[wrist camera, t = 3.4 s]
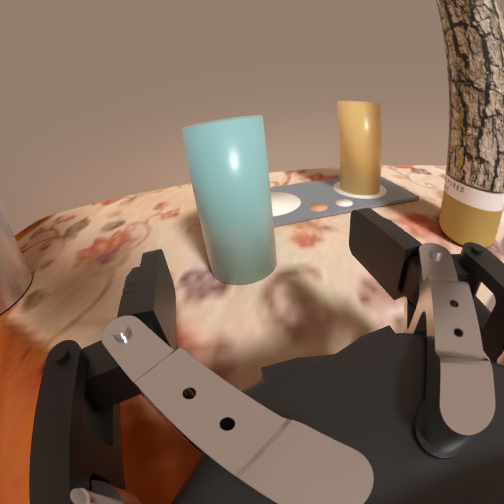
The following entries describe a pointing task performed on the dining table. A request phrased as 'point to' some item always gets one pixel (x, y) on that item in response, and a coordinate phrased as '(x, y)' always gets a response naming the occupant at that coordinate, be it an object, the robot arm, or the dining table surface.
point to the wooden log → (474, 120)
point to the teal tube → (233, 196)
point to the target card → (329, 200)
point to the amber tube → (360, 146)
